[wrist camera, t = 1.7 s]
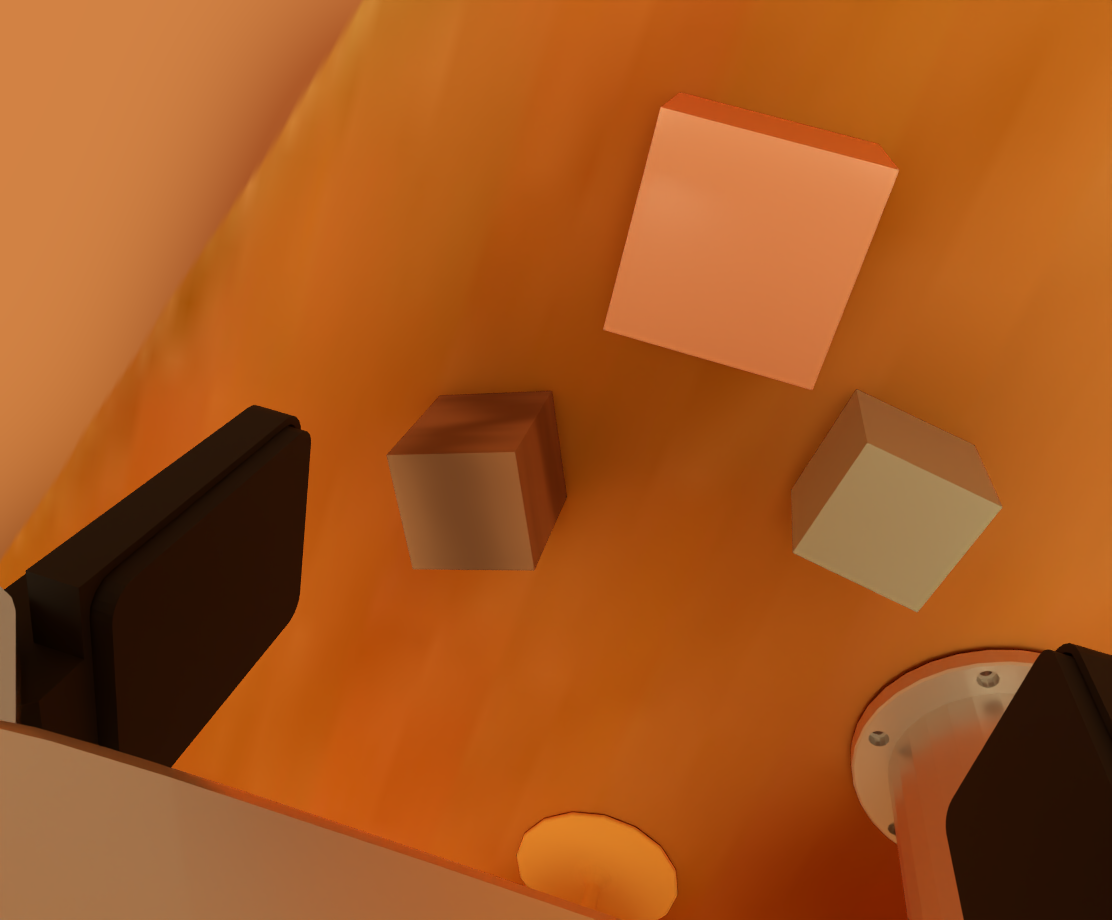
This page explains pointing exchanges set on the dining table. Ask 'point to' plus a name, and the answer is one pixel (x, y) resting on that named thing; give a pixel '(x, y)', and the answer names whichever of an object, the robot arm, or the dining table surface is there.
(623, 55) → the dining table surface
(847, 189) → the terracotta block
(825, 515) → the greygreen block
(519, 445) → the walnut block
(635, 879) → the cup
